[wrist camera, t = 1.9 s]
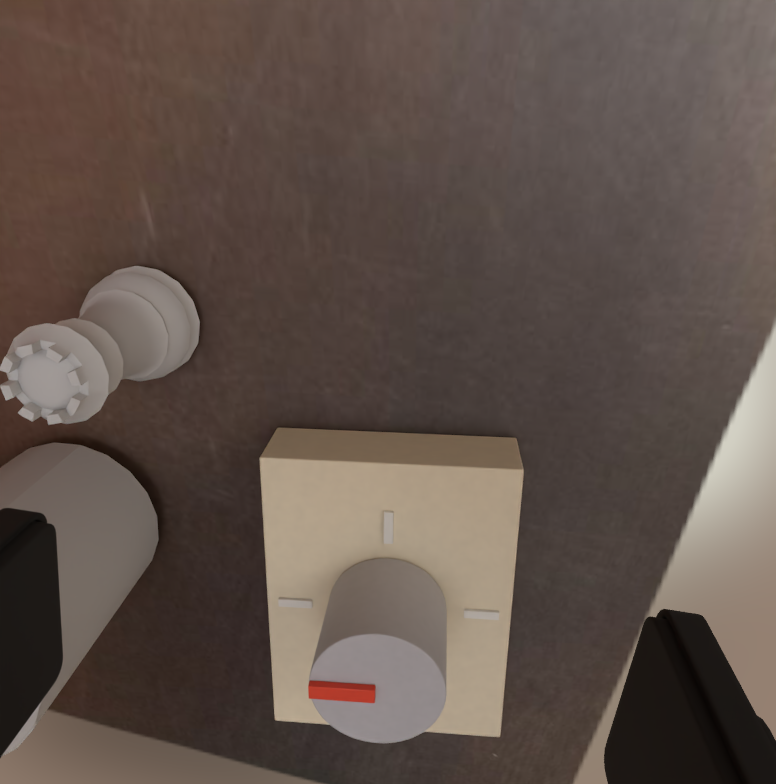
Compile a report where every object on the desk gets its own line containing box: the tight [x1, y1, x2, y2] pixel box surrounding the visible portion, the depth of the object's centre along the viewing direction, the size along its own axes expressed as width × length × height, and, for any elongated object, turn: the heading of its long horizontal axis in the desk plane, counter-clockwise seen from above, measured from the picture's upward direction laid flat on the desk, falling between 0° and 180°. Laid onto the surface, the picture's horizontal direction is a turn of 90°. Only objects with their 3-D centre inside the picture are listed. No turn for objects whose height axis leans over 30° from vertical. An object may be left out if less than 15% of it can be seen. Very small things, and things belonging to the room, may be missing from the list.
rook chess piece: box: [0, 266, 200, 425], centre depth 24 cm, size 4×4×8 cm
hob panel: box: [259, 428, 524, 737], centre depth 29 cm, size 10×13×3 cm
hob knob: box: [308, 558, 447, 743], centre depth 26 cm, size 5×5×5 cm
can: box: [0, 443, 159, 756], centre depth 26 cm, size 8×8×12 cm
